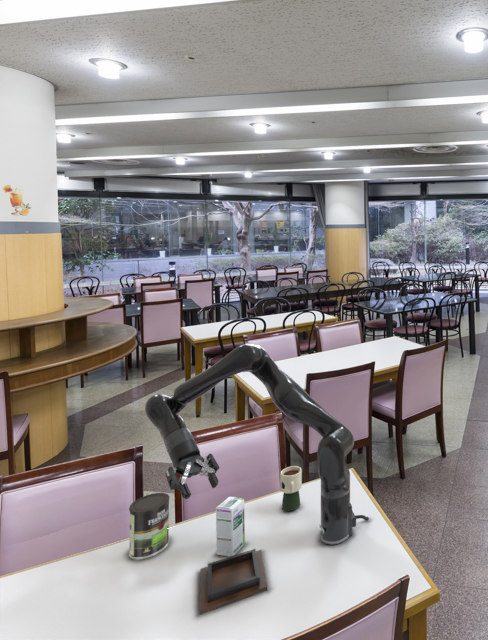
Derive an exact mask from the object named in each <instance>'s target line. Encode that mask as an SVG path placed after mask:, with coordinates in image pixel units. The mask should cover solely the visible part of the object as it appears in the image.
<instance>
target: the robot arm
mask: <svg viewBox="0 0 488 640" xmlns="http://www.w3.org/2000/svg"><path fill="white" fill-rule="evenodd" d="M241 373H251V374H252V375H253V376H254V377H255V378H257V380H259V381H260V382H261V383H262V384H263V385H264V387H265V388H266V391H267V393H268V395H269V397H270V399H271V401H272V403H273V404H274V405H275V406H276V407H277V409H278V410H279V411H280V412H282V413H283V415H285V416H286V417H287V418H288V419H290V420H291V421H294V422H296V423H299V424H302V425H305V426H307V427H310V428H311V429H313V430H315V432H317V433H318V435H320V436H321V437H322V438H321V439H320V440H319V442H318V445H317V451H316V452H317V453H316V454H317V456H316V457H317V458H316V459H317V473H318V477H319V479H320V523H319V529H320V533H319V534H320V536H319V537H320V540H321V542H322V543H323V544H325V545H330V546H333V545H339V544H341V543H343V542H345V541H346V540H348V539H349V538H350V537H352V536H353V528H355V527H357V520H358V519H363V520H364V521H368V520H369V516H366V515H364V514H358V515H355V513H354V511H353V506H352V503H351V471H350V470H349V468H348V467H346V466H345V457H347V456H348V454H350V453H351V451H352V450H353V448H354V446H355V438H354V435H353V433H352V432H351V430H350V429H349V428H347V427H346V425H344V424H343V423H341V421H339V420H337V419H336V418H335V417H333V416H332V415H331V414H330V413H328V412H327V411H326V410H325V409H324V408H323V407H322V406H321V405H320V404H319V403H318V402H317V401H316V400H315V399H314V398H312V396H311V395H309V393H307V391H305V389H303V388H302V386H300V384H299V383H298V382H296V381H295V380H294V379H292V377H291V376H289V375H288V374H287V372H285V371H284V370H283V369H281V368H280V366H278V364H276V362H275V361H274V360H273V358H272V357H271V356H270V355H269V354H268V352H267V351H266V349H264V348H263V347H262V346H261V345H259V344H256V343H243V344H240V345H238V346H236V347H235V348H233V349H232V350H231V351H230V352H229V353H227V354H226V355H225V356H223V358H221V359H219V361H217V362H216V363H214V364H213V365H212V366H209V367H207V368H206V369H204V370H203V371H201V372H199V373H198V374H196V375H194V376H192V377H191V378H188V379H186V380H185V381H184V382H182V383H180V384H178V385H177V386H176V387H175V389H174V391H173V394H171V395H166V394H163V393H156V394H153V395H151V396H150V397H148V399H147V400H146V402H145V405H144V412H145V415H146V417H147V418H148V420H149V421H150V422H151V424H152V425H153V426H154V427H155V428H156V429H157V431H158V432H159V433H160V436H161V438H162V441H163V443H164V446H165V449H166V452H167V454H168V456H169V459H170V461H171V463H172V465H173V466H169V467H168V469H167V470H166V471H165V473H164V475H165V478H166V480H167V483H168V486H169V489H170V490H172V491H174V490H175V489H177V490H179V492H180V495H181V497H182V498H183V499H185V500H188V499H190V498H191V496H192V492H191V490H190V488H189V486H188V484H187V483H186V482H187V479H190V478H192V477H193V476H197V475H200V476H204V477H207V479H208V482H209V484H210V486H211V488H212V489H215V488H217V486H218V485H219V479H218V477H217V475H216V473H218V470H219V469H220V466H219V463H218V462H217V460H216V459H215V457H214V455H213V454H212V453H208V454H207V455H206V456H202V455H201V451H200V450H201V449H200V448H199V446H198V444H197V442H196V440H195V438H194V436H193V434H192V432H191V431H190V430H189V428H188V426H187V424H186V422H185V420H184V418H183V416H180V415H179V413H180V412H181V411H183V409H185V408H186V407H187V406H188V405H189V404H190V403H192V402H194V401H196V400H197V399H199V398H201V397H202V396H205V395H206V394H207V393H209V392H210V391H211V390H212V389H214V388H215V387H216V386H217V385H218V384H220V383H221V382H223V381H224V380H226V379H228V378H230V377H233V376H235V375H237V374H241ZM176 474H178V475H180V476H179V479H178V476H177V475H176Z"/></svg>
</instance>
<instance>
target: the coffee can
mask: <svg viewBox="0 0 488 640" xmlns="http://www.w3.org/2000/svg"><path fill="white" fill-rule="evenodd" d="M128 510H129V511H128V512H129V543H128V544H129V547H128V549H129V550H128V556H129V558H130V559H132V560H136V561H138V560H139V561H140V560H145V559H149V558H152V557H154V556H156V555H158V554H160V553H161V552H163V551H164V550H165V549H166V548H167V547H168V546H169V542H170V541H169V533H170V532H169V529H167V528H170V527H169V526H170V524H169V522H170V519H169V518H170V516H169V515H170V495H169V494H168V493H166V492H155V493H150V494H146V495H143V496H141V497H139V498H137V499H135V500H134V501H133V502H132V503H131V504H129V507H128Z"/></svg>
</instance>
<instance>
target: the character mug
mask: <svg viewBox="0 0 488 640" xmlns="http://www.w3.org/2000/svg"><path fill="white" fill-rule="evenodd" d="M302 470H303V469H302V467H301V466H298V465H292V466H290V465H289V466H287V467H285V468H283V469H281V471H280V492H281V493H283V495H282V501H281V510H282V511H284V512H290V511H291V512H292V511H294V510H296V509H298V508H300V506H301V497H300V490H301V489H302V487H303V486H302V485H303V484H302V483H303V482H302V481H303V480H302V479H303V471H302Z"/></svg>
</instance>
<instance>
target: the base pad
mask: <svg viewBox="0 0 488 640" xmlns="http://www.w3.org/2000/svg"><path fill="white" fill-rule="evenodd" d="M199 574H200V575H199V576H200V579H199V582H200V583H199V615H203V614H205V613H208V612H212V611H214V610H217V609H219V608H222V607H225V606H227V605H230V604H234V603H237V602H238V601H241V600H244V599H247V598H250V597H252V596H256V595H258V594H261V593H263V592H266V591H268V581H267V577H266V576H267V575H266V571H265V565H264V560H263V554H262V550H261V549H258V550H256V548H253V549H250V550H247V551H244V552H241V553H236V554H235V555H234V556H231V557H229V556H226V557H224V558H222V559H218V560H215V561H212V562H208V563H207V566H205V567H202V568H200V573H199Z"/></svg>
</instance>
